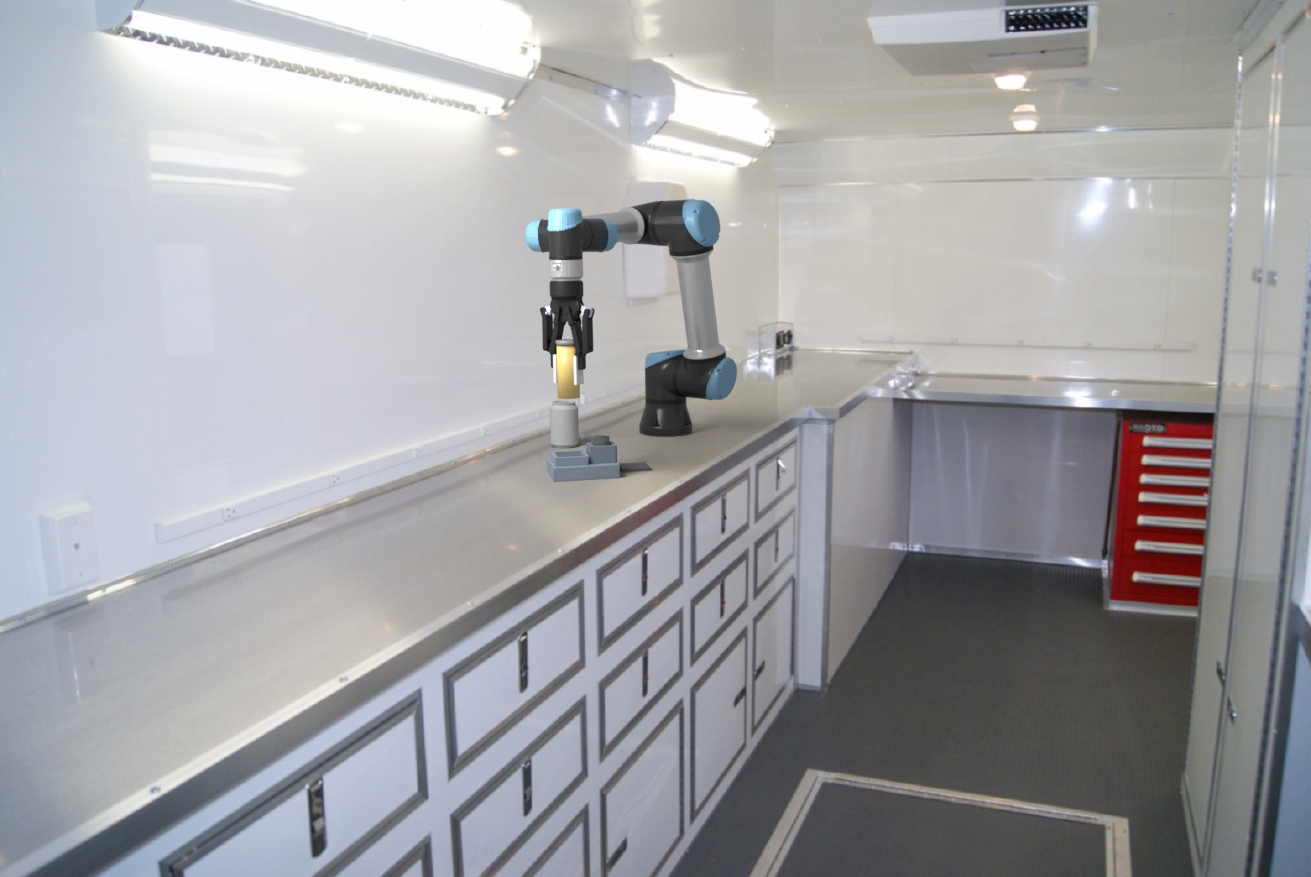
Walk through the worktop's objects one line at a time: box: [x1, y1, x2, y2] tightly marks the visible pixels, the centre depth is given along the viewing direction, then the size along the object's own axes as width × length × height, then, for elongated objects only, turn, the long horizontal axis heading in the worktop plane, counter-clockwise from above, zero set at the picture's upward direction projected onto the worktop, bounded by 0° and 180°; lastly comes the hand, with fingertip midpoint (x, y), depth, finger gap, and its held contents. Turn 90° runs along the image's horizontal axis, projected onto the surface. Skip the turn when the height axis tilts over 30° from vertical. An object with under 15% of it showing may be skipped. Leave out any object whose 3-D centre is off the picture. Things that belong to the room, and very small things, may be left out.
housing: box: [546, 440, 621, 483], centre depth 238 cm, size 15×11×7 cm
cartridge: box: [556, 338, 581, 400], centre depth 234 cm, size 5×5×13 cm
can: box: [549, 399, 580, 449], centre depth 273 cm, size 8×8×12 cm
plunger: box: [593, 435, 610, 446], centre depth 239 cm, size 4×4×5 cm
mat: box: [617, 461, 653, 473], centre depth 246 cm, size 7×7×1 cm
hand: (568, 383), depth 234 cm, fingers closed on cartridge, 5 cm apart
